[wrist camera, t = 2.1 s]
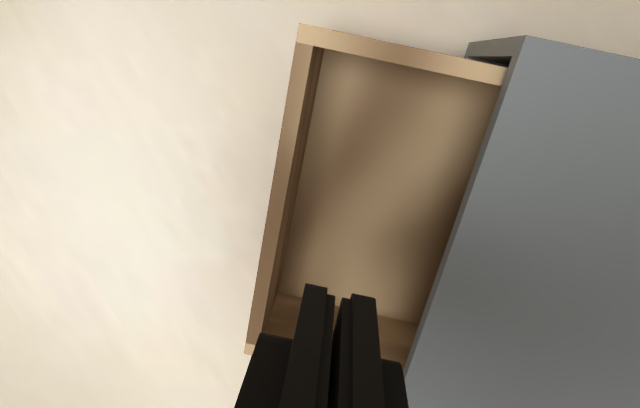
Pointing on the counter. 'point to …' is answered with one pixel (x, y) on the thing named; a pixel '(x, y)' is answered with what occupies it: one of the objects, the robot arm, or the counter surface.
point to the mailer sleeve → (542, 243)
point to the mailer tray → (368, 178)
